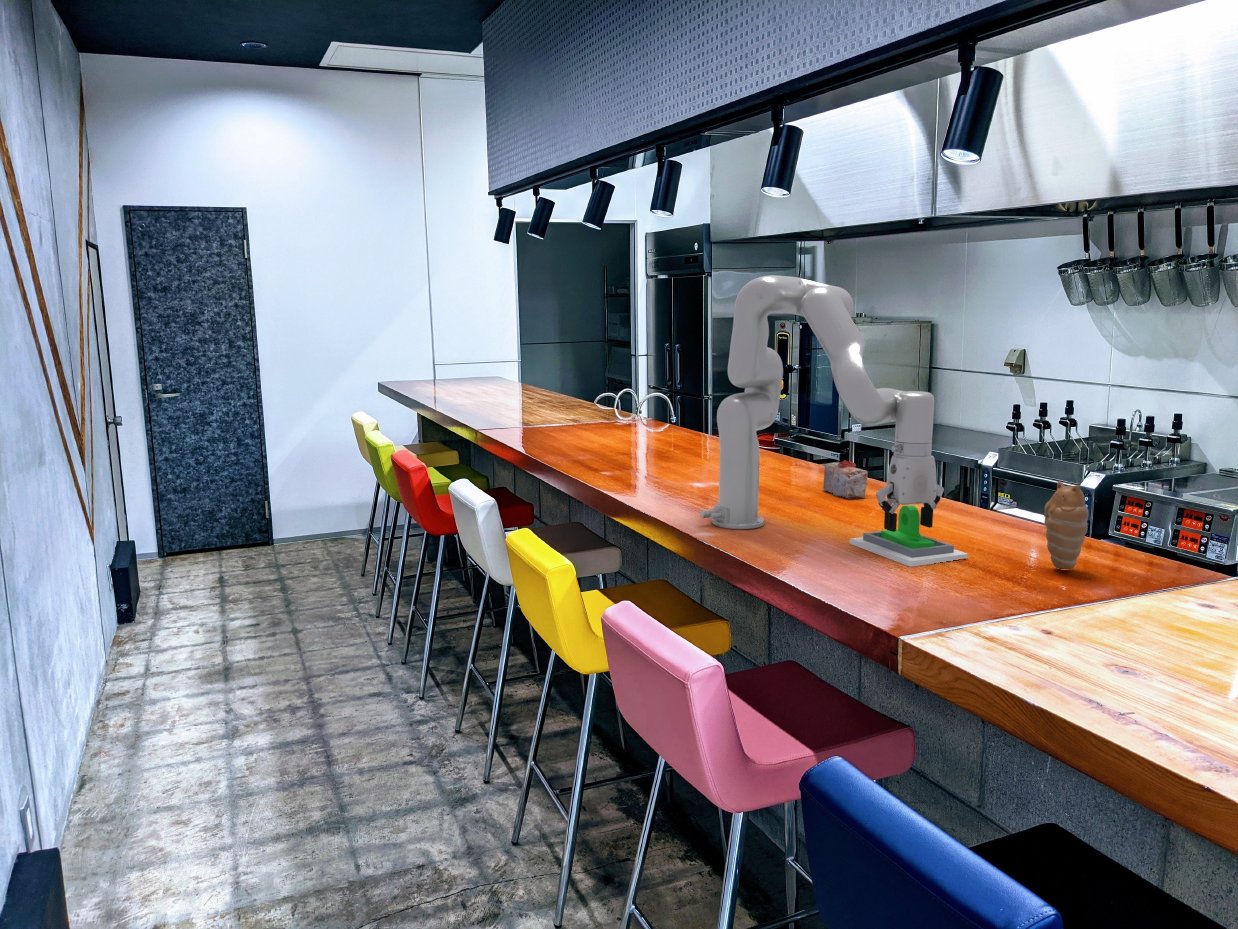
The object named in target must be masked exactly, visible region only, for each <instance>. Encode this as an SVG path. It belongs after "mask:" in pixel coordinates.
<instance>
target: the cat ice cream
mask: <svg viewBox="0 0 1238 929" xmlns="http://www.w3.org/2000/svg"><path fill="white" fill-rule="evenodd" d="M1043 515H1044V521H1043V522H1044V525H1045V527H1046V532H1045V537H1046V541H1047V546H1046V547H1047V550H1048V551H1047V552H1049V553H1050V554H1049V555H1050V561H1051V562H1052V565H1053V566H1054V568H1055V567H1056V569H1057V568H1059V569H1071V570H1073V569H1074V568H1075V566H1076V565H1077V561H1078V560H1077V559H1078V558H1079V556H1080V554H1081V551H1082V546H1083V544H1084V541H1085V539H1086V538H1085V535H1086V534H1087V532H1088V520H1089V509H1088V507H1087V506H1086V497H1085V494H1084V492H1083V491H1082V490H1081V485H1080V484H1078V485H1075V486H1071V485H1065V484H1064V483H1062V481H1060V480H1058V481H1057V484H1056V491H1055V492H1054V493H1053V494H1052V496H1050V499H1049V500H1047V502H1046V503H1045V505H1044V514H1043Z"/></svg>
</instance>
